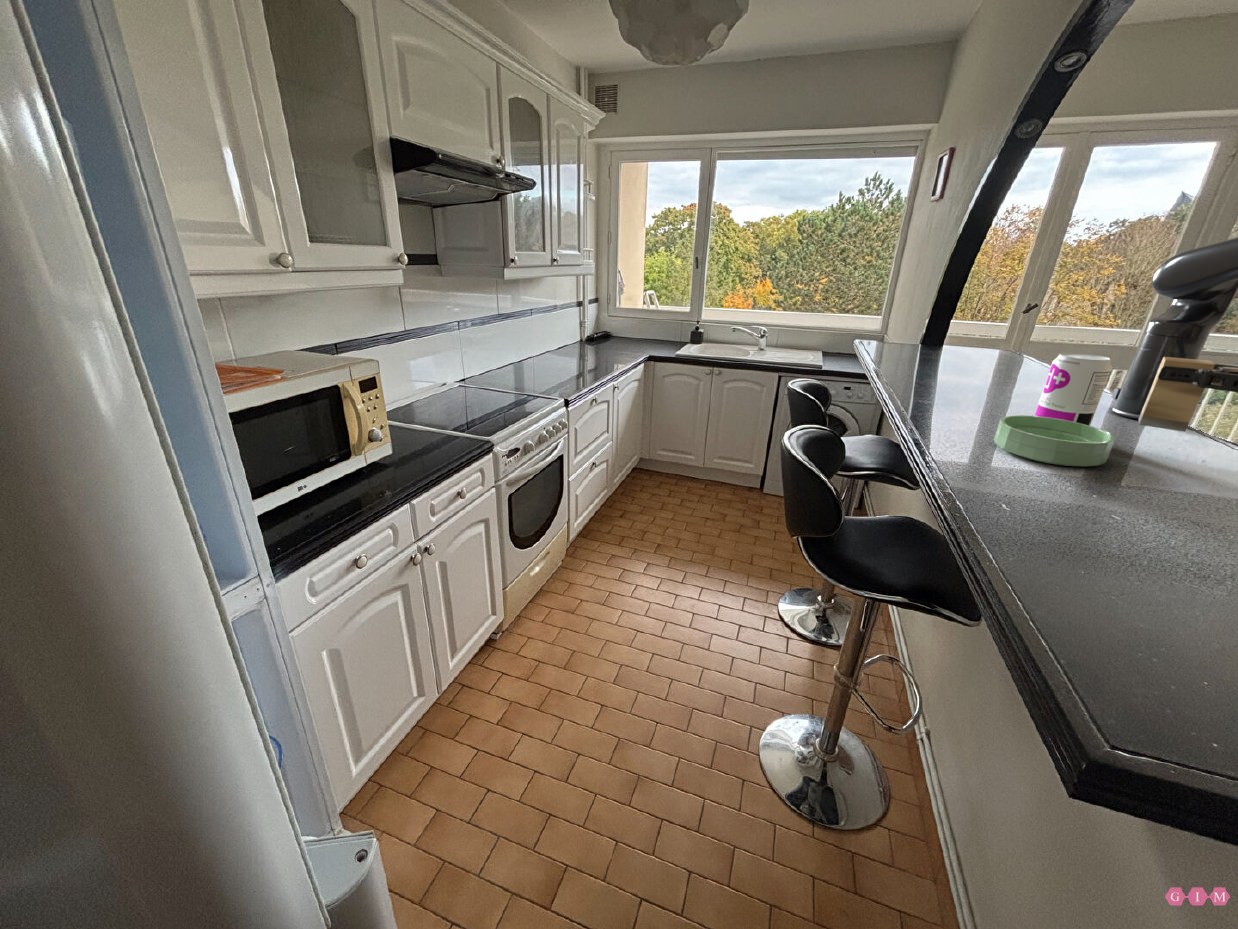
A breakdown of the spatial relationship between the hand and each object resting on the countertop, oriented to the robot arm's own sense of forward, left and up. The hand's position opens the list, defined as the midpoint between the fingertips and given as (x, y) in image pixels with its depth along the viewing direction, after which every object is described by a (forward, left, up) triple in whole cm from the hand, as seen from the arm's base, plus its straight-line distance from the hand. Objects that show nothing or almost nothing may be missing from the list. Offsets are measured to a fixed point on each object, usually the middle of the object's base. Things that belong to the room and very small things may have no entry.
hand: (1159, 370), depth 84 cm
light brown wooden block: (+1, +3, -9) cm, 9 cm away
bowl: (+9, -14, -14) cm, 21 cm away
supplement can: (-4, -9, -14) cm, 18 cm away
